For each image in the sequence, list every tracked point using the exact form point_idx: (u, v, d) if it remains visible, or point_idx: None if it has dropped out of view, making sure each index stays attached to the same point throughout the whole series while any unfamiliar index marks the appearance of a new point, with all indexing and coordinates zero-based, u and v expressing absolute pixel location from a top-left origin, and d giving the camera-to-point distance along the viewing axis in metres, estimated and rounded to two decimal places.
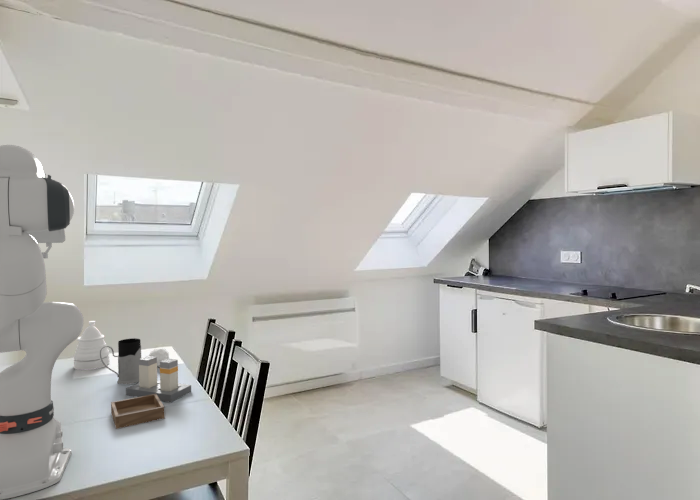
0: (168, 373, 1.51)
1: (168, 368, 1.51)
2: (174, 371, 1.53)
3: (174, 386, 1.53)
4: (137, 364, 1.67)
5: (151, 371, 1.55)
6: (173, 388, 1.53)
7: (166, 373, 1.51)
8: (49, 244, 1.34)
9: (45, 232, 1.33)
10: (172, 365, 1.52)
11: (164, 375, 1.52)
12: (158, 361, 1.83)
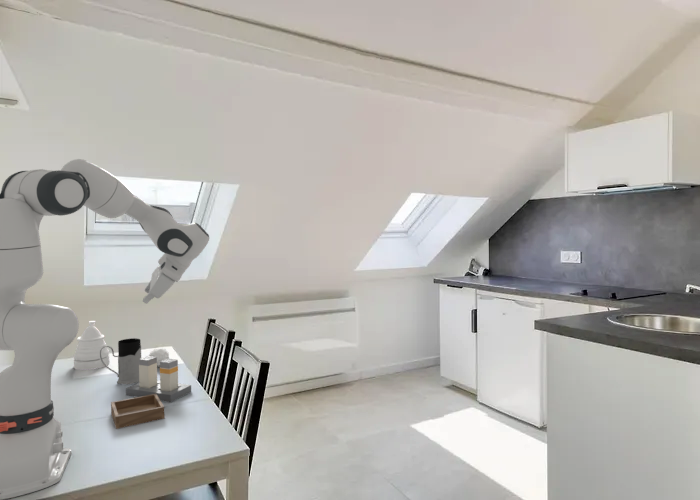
0: (168, 373, 1.51)
1: (168, 368, 1.51)
2: (174, 371, 1.53)
3: (174, 386, 1.53)
4: (137, 364, 1.67)
5: (151, 371, 1.55)
6: (173, 388, 1.53)
7: (166, 373, 1.51)
8: None
9: (155, 280, 1.46)
10: (172, 365, 1.52)
11: (164, 375, 1.52)
12: (158, 361, 1.83)
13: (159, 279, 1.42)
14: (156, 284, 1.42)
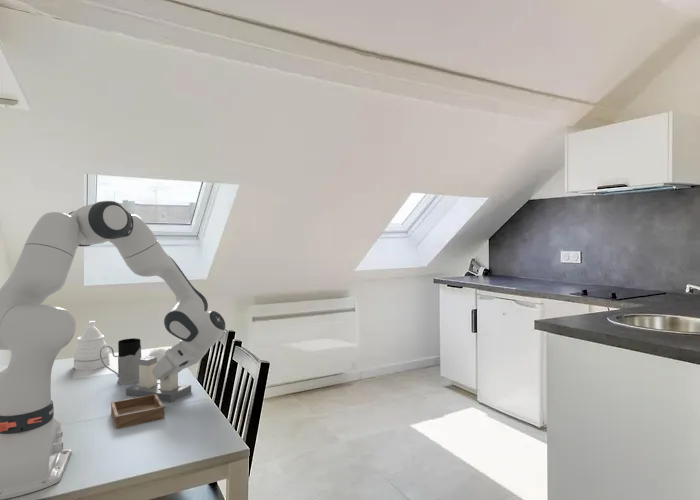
0: None
1: None
2: None
3: (174, 386, 1.53)
4: (137, 364, 1.67)
5: (151, 371, 1.55)
6: (173, 388, 1.53)
7: None
8: None
9: None
10: None
11: None
12: (158, 361, 1.83)
13: (160, 360, 1.42)
14: (157, 364, 1.43)
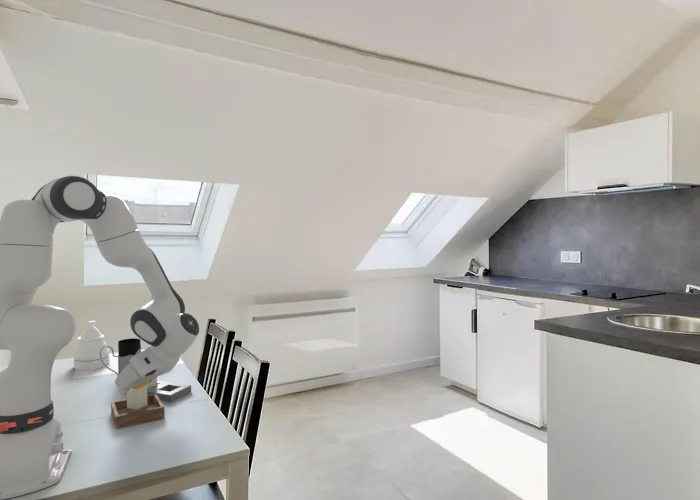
0: (135, 388, 1.34)
1: None
2: (142, 385, 1.36)
3: (142, 402, 1.36)
4: None
5: None
6: (141, 405, 1.36)
7: (133, 388, 1.34)
8: None
9: None
10: None
11: (131, 390, 1.35)
12: None
13: (124, 369, 1.26)
14: (120, 374, 1.26)
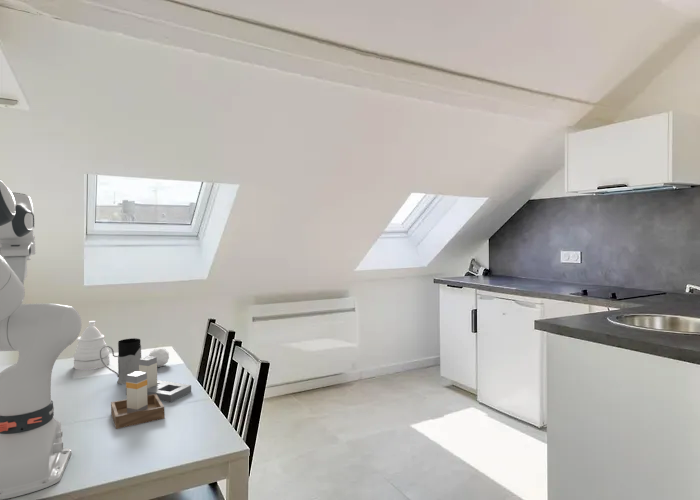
0: (135, 388, 1.34)
1: (135, 382, 1.34)
2: (142, 385, 1.36)
3: (142, 402, 1.36)
4: (137, 364, 1.67)
5: (151, 371, 1.55)
6: (141, 405, 1.36)
7: (133, 388, 1.34)
8: None
9: None
10: (140, 379, 1.35)
11: (131, 390, 1.35)
12: (158, 361, 1.83)
13: None
14: None
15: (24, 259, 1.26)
